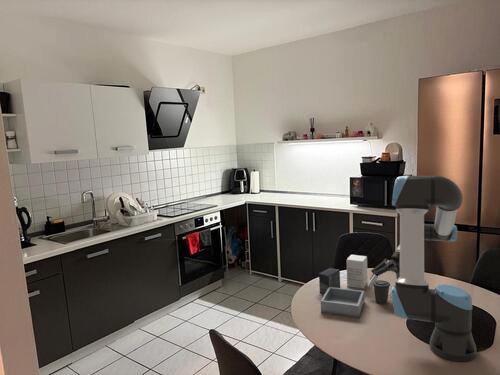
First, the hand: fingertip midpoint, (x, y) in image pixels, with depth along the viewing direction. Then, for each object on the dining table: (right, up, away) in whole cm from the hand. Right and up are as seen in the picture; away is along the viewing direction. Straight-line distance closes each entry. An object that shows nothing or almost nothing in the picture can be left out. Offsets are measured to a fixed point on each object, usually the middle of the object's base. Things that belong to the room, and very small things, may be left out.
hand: (379, 291), depth 181 cm
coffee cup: (+1, -5, +1) cm, 6 cm away
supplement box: (-4, -3, +23) cm, 24 cm away
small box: (-20, -4, +17) cm, 27 cm away
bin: (-18, -7, -2) cm, 19 cm away
